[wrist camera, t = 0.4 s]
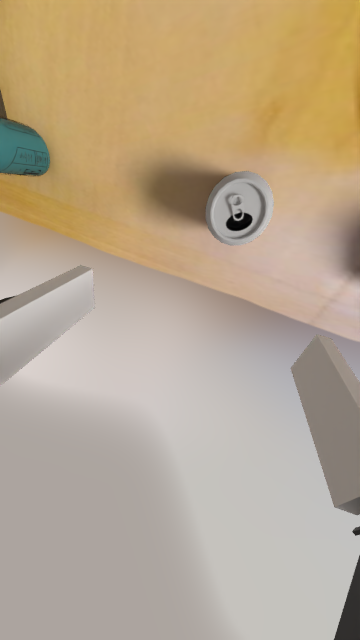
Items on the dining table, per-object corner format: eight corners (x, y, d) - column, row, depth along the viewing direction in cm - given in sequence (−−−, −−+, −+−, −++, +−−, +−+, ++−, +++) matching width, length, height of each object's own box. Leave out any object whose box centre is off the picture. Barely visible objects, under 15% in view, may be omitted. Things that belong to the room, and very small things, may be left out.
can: (216, 236, 34) (208, 254, 24) (209, 185, 31) (198, 181, 21) (263, 227, 32) (276, 242, 22) (262, 170, 28) (277, 158, 19)
